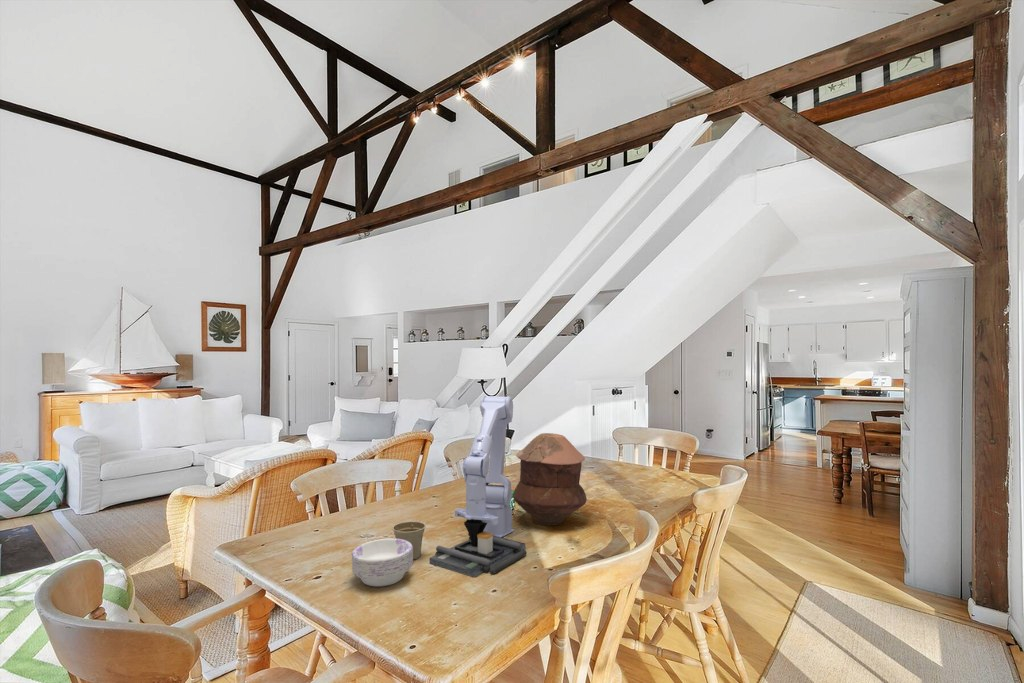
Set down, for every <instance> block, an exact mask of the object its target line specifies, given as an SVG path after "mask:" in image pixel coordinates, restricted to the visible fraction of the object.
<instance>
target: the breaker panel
mask: <svg viewBox="0 0 1024 683" xmlns="http://www.w3.org/2000/svg"><path fill="white" fill-rule="evenodd" d="M493 537H496V538H500V539H504V540H508V541H512V542H516V543H520V544H521V551H522V550H525V549H526V548H527V546H526V545H527V544H526V542H521V541H517V540H513V539H509V538H505V537H498V536H494V535H493ZM448 548H449V547H448ZM449 549H453V550H456V551H460V552H463V553H467V554H471V555H474V556H478V557H481V558H485V559H488V560H490V561H491V564H490V569H491V568H492V567H494V566H495V565H497V564H499V563H501V562H502V561H504V560H506V559H508V558H509V557H511V556H513V555H515V554H516V549H515V548H512V547H508V546H504V545H500V544H496V543H493V551H492V552H490V553H488V554H483V553H480V552H478V546H477V547H474V546H472V543H471V539H469V538H468V539H467V540H464V541H462V542H461V543H458V544H456V545H454V546H452V547H450V548H449ZM429 564H430V565H433V564H434V566H437V567H440V568H442V569H443V568H444V569H446V570H450V571H453V572H456V573H459V574H463V575H465V576H469V577H471V578H477V577H478V576H481V575H482V574H483V573H485V572H484V566H482V565H479V563H475V562H468V561H465V560H462V559H458V558H455V557H452V556H451V555H448V554H441V553H439V554H437V555H435V554H434V555H433V556H430V557H429Z"/></svg>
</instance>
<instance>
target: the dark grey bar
mask: <svg viewBox="0 0 1024 683" xmlns="http://www.w3.org/2000/svg"><path fill="white" fill-rule="evenodd" d="M467 535H468V537H469V538H468V540H469V539H470V536H469V533H468V534H467ZM493 543H496V544H500V545H504V546H508V547H512V548H515V549H516V554H517V553H518V552H520V551H521V544H520V543H516V542H512V541H508V540H504V539H500V538H496V537H493Z"/></svg>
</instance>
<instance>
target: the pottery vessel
mask: <svg viewBox="0 0 1024 683" xmlns="http://www.w3.org/2000/svg"><path fill="white" fill-rule="evenodd" d="M516 457H517V458H518V459H519V460H520V462H519V463H520V467H519V468H520V474H519V475H520V476H519V481H518V483H517V485H516V486H515V488H514V490H513V493H512V500H513V501H514V502H515V503H516V504H517V505H519V507H520V508H522V510H523V511H525V512H526V513H527V514H528V515H529V516H530V517H531V518H532V519H533V520H534V523H536V524H539V525H542V526H548V527H549V526H550V527H551V526H558V525H560V524H562V523H563V522H564V520H565V519H566V518H567V517H569V516H570V515H572V514H573V513H574V512H575V511H577V510H579V509H580V508H582V507H583V506H584V505H586V503H587V501H588V499H587V494H586V492H585V489H584V488H583V486H582V485H581V484H580V481H581V472H582V465H583V464H582V463H583V462H584V461H585V459H586V458H585V456H584V455H583V453H581V452H580V451H579V450H578V449H577V448H576V446H574V445H573V444H572V442H570V440H569V439H568V438H566V436H564V435H562V434H558V433H553V432H552V433H551V432H546V433H545V432H543V433H540V434H538V435H537V436H535V437H534V438H532V440H531V441H529V443H528V444H526V446H524V448H522V449H521V450H519V451H518V452H517V453H516Z"/></svg>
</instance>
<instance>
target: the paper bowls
mask: <svg viewBox="0 0 1024 683" xmlns="http://www.w3.org/2000/svg"><path fill="white" fill-rule="evenodd" d="M413 564H414V559H413V547H412V544H411V543H410V542H408V541H406V540H402V539H396V538H380V539H375V540H374V539H373V540H371V541H367V542H364V543H362V544H360V545H357V546H356V547H355V548H354V549H353V550H352V552H351V572H352V573H353V575H354V576H356V577H357V578H360V580H361V581H362V582H363V584H365V585H367V586H370V587H379V588H380V587H386V586H391V585H394V584H396V583H398V582H399V581H401V580H402V578H403V577H404V576H405V573H406V572H408V571H409V570H410V569H411V568H412V567H413Z"/></svg>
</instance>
